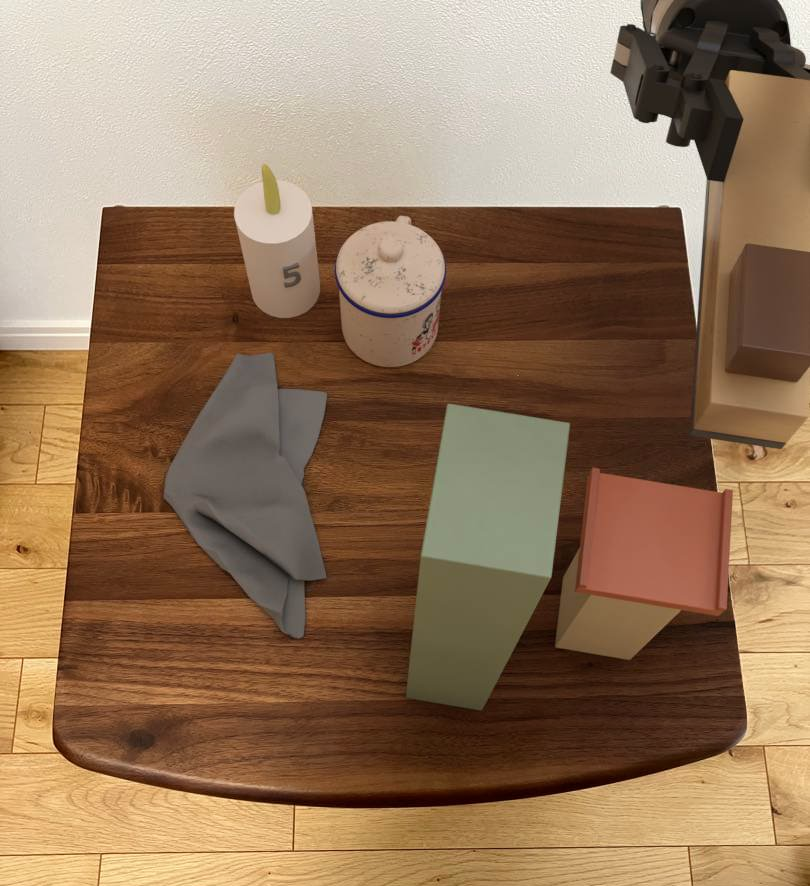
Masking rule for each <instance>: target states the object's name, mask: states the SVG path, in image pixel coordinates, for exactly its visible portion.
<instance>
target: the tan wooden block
mask: <svg viewBox="0 0 810 886" xmlns="http://www.w3.org/2000/svg"><path fill="white" fill-rule="evenodd" d="M725 83H726V85H727V87H728V89H729V90H730V92H731V94H732V96H733V98H734V100H735V102H736V104H737V106H738V108H739V110H740V113H741V115H742V117H743V119H744V120H743V123H742V126H741V130H740V133H739V136H738V139H737V142H736V146H735V149H734V152H733V155H732V159H731V162H730V165H729V168H728V172H727V175H726V178H725V181H724V182H718V181H711V180H707V179H706V182H705V184H706V185H705V197H704V211H703V212H704V213H703V225H702V226H703V229H702V242H701V244H702V245H701V257H700V258H701V259H700V272H699V273H700V274H699V287H698V302H697V303H698V304H697V316H696V317H697V318H696V334H695V346H694V347H695V350H694V365H693V379H692V395H691V406H690V407H691V409H690V411H691V412H690V422H689V436H690V437H696V438H703V439H710V440H715V441H722V442H728V443H729V442H730V443H735V444H743V445H748V446H749V445H750V446H756V447H762V448H763V447H764V448H770V449H776V450H782V449H783V448H784V447H785V446H786V445H787V443H788V442H789V441H790V440H791V439H792V437H793V436H794V435H795V434H796V433H797V432H798V431H799V429H800V428H801V427H802V426H803V425H804V423H805V422H806V421H807V420H808V418H810V80H803V79H796V78H788V77H780V76H773V75H765V74H758V73H750V72H742V71H735V70H730V72H729V74H728V76H727V79H726V81H725Z"/></svg>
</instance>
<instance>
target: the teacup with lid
mask: <svg viewBox="0 0 810 886" xmlns="http://www.w3.org/2000/svg"><path fill="white" fill-rule="evenodd" d="M334 278H335V283H336V285H337V287H338V293H339V295H338V296H339V305H340V306H339V309H340V321H341V331H342V335H343V339H344V341H345V343H346V345H347V346H348V348H349V350H350V351H352V352H353V353H354V354H355V355H356V356H357V357H358V358H359V359H361V360H362V361H364V362H366V363H368V364H370V365H374V366H376V367H377V366H378V367H383V368H398V367H405V366H407V365H410V364H412V363H414V362H416V361H418V360H419V359H421V358H422V357H424V356H425V355H426V354H427V353H428V352H429V351H430V350H431V348H432V346H434V343H435V341H436V339H437V337H438V332H439V331H438V330H439V324H440V323H439V322H440V312H441V301H442V291H443V288H444V285H445V282H446V278H447V265H446V261H445V257H444V254H443V252H442V250H441V249H440V247H439V245H438V244H437V242H436V241H435V240H434V239H433V238H432V236H430V235H429V234H428V233H426V232H425V231H424V230H422V229H421V228H419V227H416V226H414V225H412V218H410V217H409V216H408V215H399V216H397V218H396V219H395V221H389V220H388V221H379V222H375V223H371V224H368V225H366V226H363V227H362V228H359V229H358V230H356V231H355V232H354V233H353V234H351V235H350V236H349V237H348V238H347V239H346V240H345V242H344V243H343V244H342V246H341V247H340V249H339V252H338V254H337V256H336V258H335V263H334Z"/></svg>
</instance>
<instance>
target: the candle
mask: <svg viewBox="0 0 810 886" xmlns="http://www.w3.org/2000/svg"><path fill="white" fill-rule="evenodd" d="M261 177H262V178H261V179H262V181H259V182H257V183H255V184H253V185H250V186H249V187H247V188H246V189H245V190H244V191H242V193H241V194H240V196H239V197H238V198H237V200H236V203H235V204H234V209H233V217H234V221H235V226H236V230H237V234H238V239H239V244H240V248H241V253H242V257H243V262H244V266H245V270H246V276H247V279H248V283H249V289H250V293H251V298H252V300H253V302H254V303H255V305H256V307H257V308H258V309H259V310H261V312H263V313H264V314H267V315H269V316H270V317H275V318H278V319H291V318H296V317H299V316H301V315H303V314H306V313H307V312H308V311H310V309H312V308H313V307H314V305H315V304H316V303H317V301H318V300H319V297H320V294H321V280H320V269H319V261H318V251H317V244H316V243H317V241H316V234H315V223H314V222H315V221H314V215H313V206H312V202H311V199H310V198H309V196H308V195H307V193H306V192H305V191H304V190H302V189H301V188H300V187H299V186H297V185H295V184H293V183H292V182H289V181H285V180H279V179H276V177H275V175H274V172H273V171H272V169H271V168H270V166H268V164H266V163H262V164H261Z"/></svg>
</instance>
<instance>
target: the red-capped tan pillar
mask: <svg viewBox="0 0 810 886" xmlns="http://www.w3.org/2000/svg"><path fill="white" fill-rule="evenodd" d="M733 498H734V490H733V489H728V488H725V489H724V490H723V491H722V492H719V491H715V490H708V489H701V488H695V487H689V486H683V485H676V484H670V483H664V482H659V481H653V480H652V481H651V480H647V479H641V478H633V477H629V476H628V477H627V476H622V475H616V474H609V473H603V472H601V468H598V467H592V468H591V470H590V472H589V474H588V476H587V480H586V488H585V498H584V506H583V514H582V523H581V532H580V542H579V548H578V550H577V551H576V553H575V555H574V556H573V558H572V561H571V562H570V563H569V566H568V568H567V569H566V572H565V573H564V575H563V576H562V584H561V592H560V601H559V608H558V609H559V610H558V619H557V626H556V635H555V643H554V648H557V649H561V650H562V649H563V650H569V651H574V652H581V653H586V654H592V655H597V656H598V655H599V656H603V657H610V658H616V659H621V660H626V661H630V660H632V658H634V657H635V656H636V655H637V654H638V653H639V652H640V651H641V650H642V649H643V648H644V647H645V646H647V644H648V643H649V642H650V641H651V640H653V638H654V637H655V636H656V635H657V634H658V633H659V632H661V630H663V629H664V628H665V627H666V626H667V625H668V624H669V623H670V622H671V621H672V620H673V619H674V618H675V617H676V616H678V614H679V613H680V612H681V611H685V612H692V613H696V614H702V615H709V616H715V617H718V616H720V615H721V614H723V612H725V611H726V610H727V609H728V590H729V589H728V588H729V574H730V573H729V572H730V571H729V570H730V554H731V552H730V551H731V535H732V517H733V516H732V515H733V500H734V499H733Z"/></svg>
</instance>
